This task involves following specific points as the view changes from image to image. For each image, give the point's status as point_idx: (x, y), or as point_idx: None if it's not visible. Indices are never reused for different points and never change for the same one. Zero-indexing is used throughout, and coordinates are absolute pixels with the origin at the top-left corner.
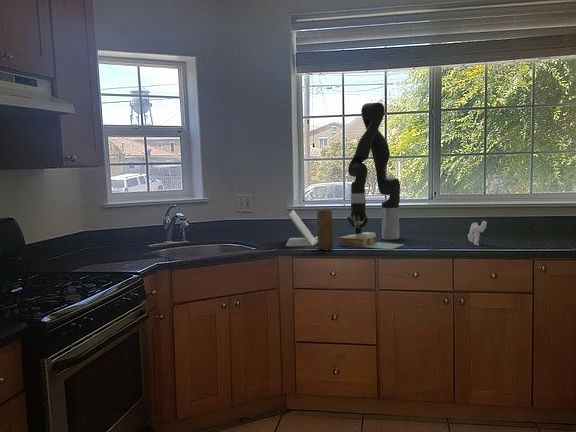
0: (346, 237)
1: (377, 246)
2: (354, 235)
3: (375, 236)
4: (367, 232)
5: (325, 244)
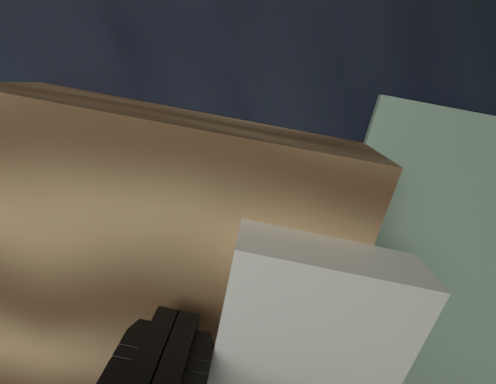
0: (75, 379)
1: (426, 340)
2: (68, 221)
3: (418, 257)
4: (287, 280)
5: None
